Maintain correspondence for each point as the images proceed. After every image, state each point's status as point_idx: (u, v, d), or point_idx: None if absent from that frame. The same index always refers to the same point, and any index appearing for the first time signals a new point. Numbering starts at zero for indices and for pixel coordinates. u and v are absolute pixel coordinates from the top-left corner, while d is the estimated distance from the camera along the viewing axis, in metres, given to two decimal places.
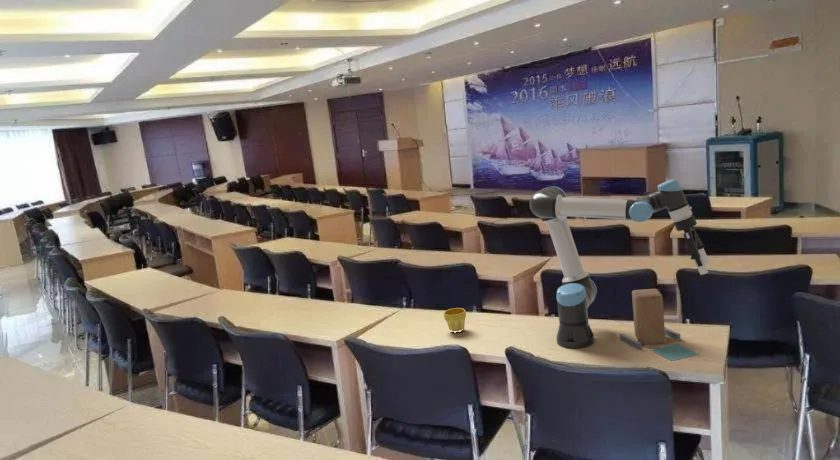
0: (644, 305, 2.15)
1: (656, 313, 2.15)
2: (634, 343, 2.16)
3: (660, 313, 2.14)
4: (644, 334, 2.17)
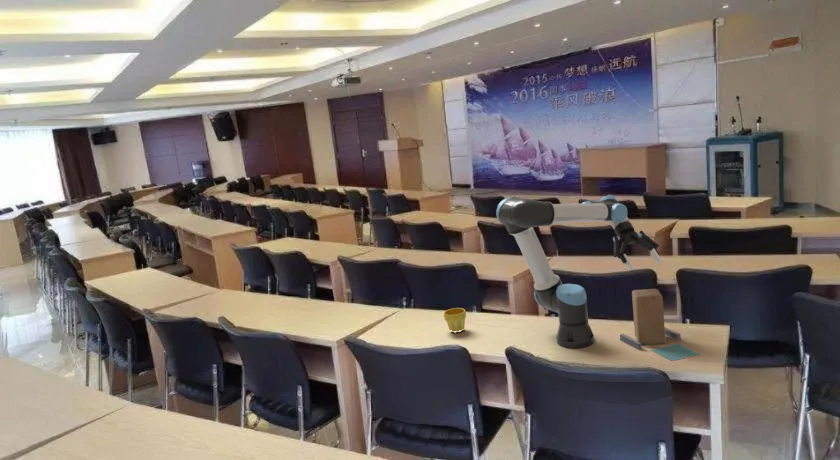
0: (644, 305, 2.15)
1: (656, 313, 2.15)
2: (634, 343, 2.16)
3: (660, 313, 2.14)
4: (644, 334, 2.17)
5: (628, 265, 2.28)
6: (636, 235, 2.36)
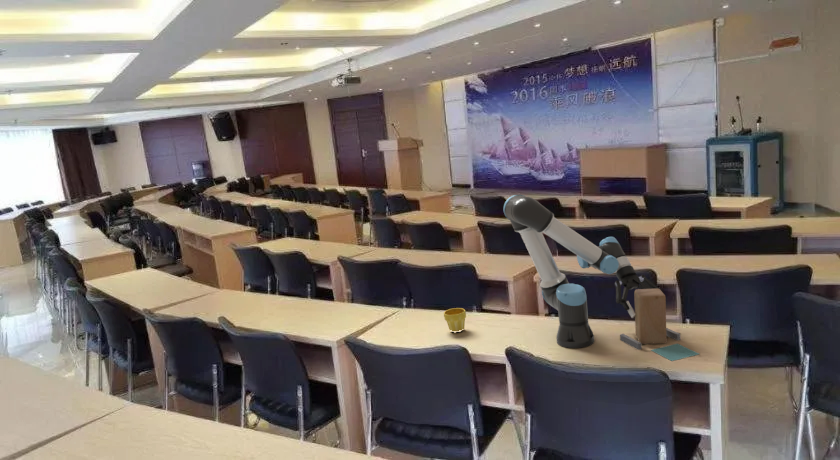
0: (647, 305, 2.15)
1: (658, 312, 2.14)
2: (634, 343, 2.16)
3: (662, 312, 2.14)
4: (646, 333, 2.17)
5: (631, 313, 2.24)
6: (638, 280, 2.32)
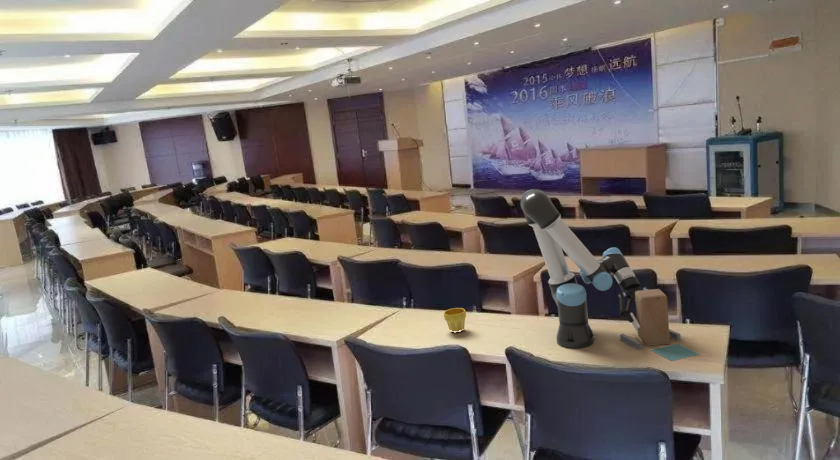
0: (649, 306, 2.14)
1: (660, 313, 2.14)
2: (634, 343, 2.16)
3: (664, 313, 2.13)
4: (649, 334, 2.16)
5: (635, 325, 2.18)
6: None
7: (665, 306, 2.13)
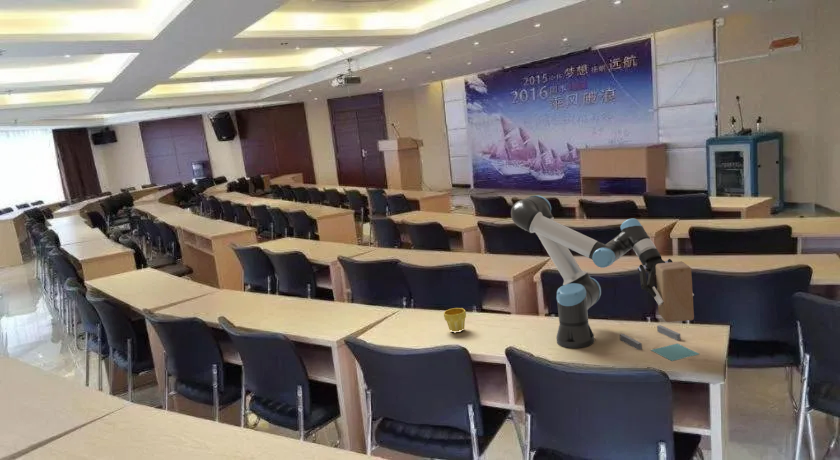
0: (672, 279, 1.97)
1: (684, 287, 1.97)
2: (634, 343, 2.16)
3: (688, 286, 1.97)
4: (671, 310, 1.99)
5: (658, 299, 2.01)
6: None
7: (689, 279, 1.96)
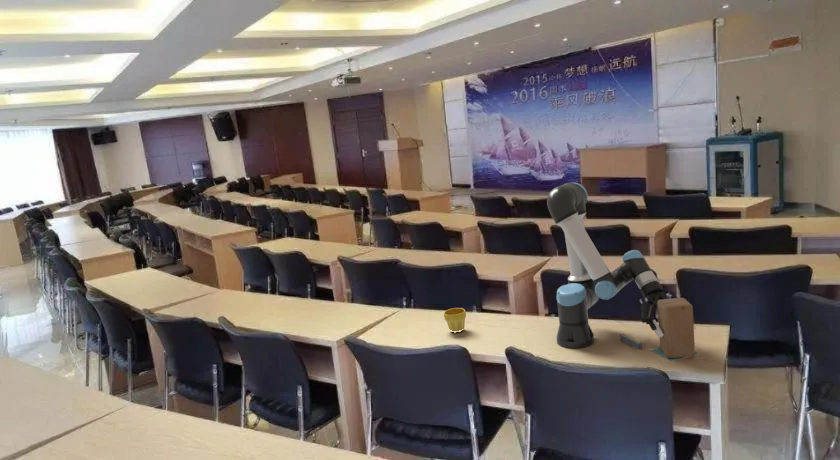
0: (674, 316, 1.99)
1: (686, 324, 1.99)
2: (634, 343, 2.16)
3: (690, 324, 1.99)
4: (673, 347, 2.01)
5: (658, 333, 2.04)
6: (665, 297, 2.12)
7: (691, 316, 1.99)
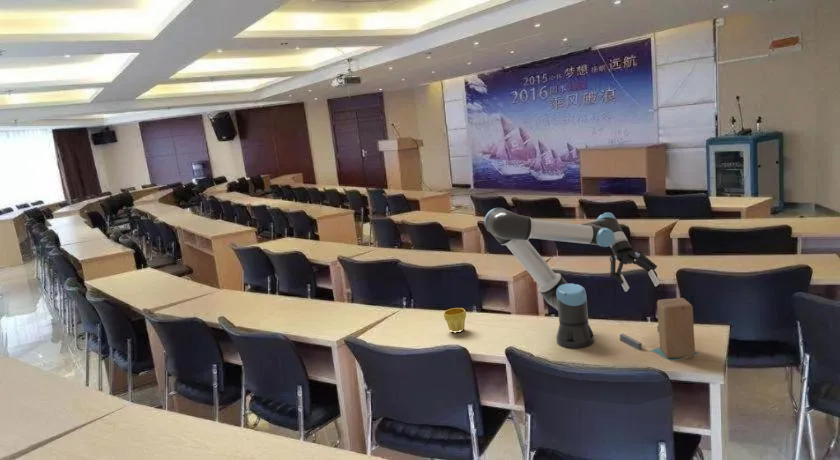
0: (673, 316, 1.99)
1: (685, 324, 1.99)
2: (634, 343, 2.16)
3: (690, 324, 1.99)
4: (673, 347, 2.01)
5: (625, 286, 2.21)
6: (634, 255, 2.29)
7: (690, 316, 1.99)
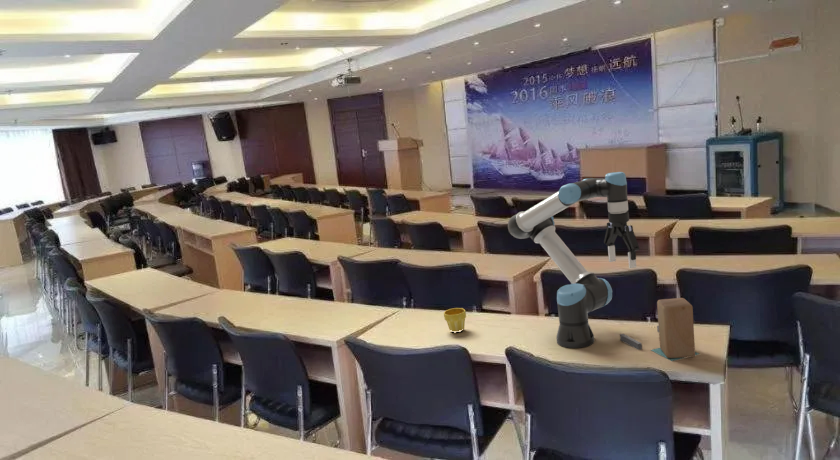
0: (673, 316, 1.99)
1: (685, 324, 1.99)
2: (634, 343, 2.16)
3: (690, 324, 1.99)
4: (673, 347, 2.01)
5: None
6: (619, 231, 2.15)
7: (690, 316, 1.99)
